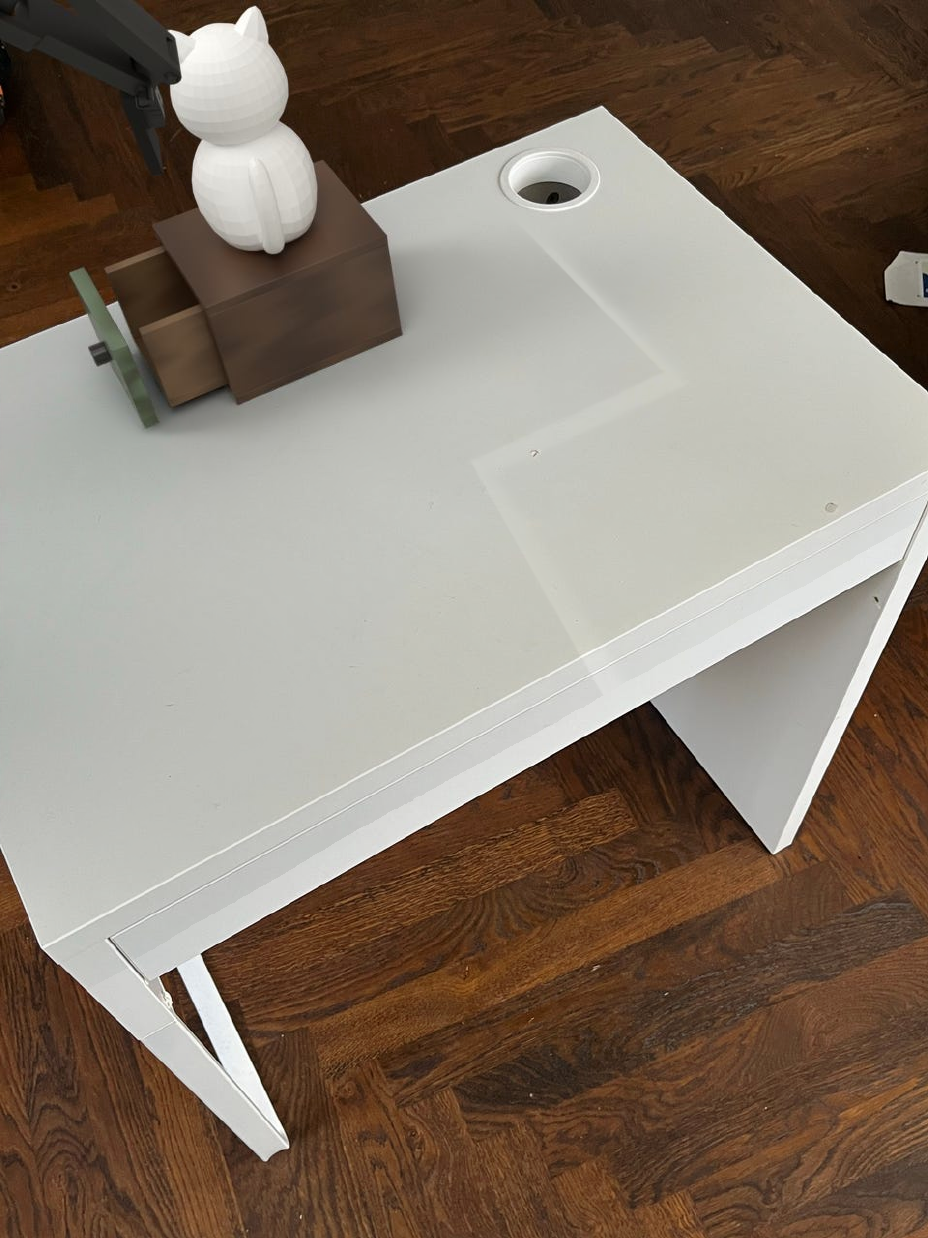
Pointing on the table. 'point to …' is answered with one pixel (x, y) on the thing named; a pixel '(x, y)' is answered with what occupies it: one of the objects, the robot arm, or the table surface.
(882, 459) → the table surface
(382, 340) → the cabinet
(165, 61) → the robot arm
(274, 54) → the cat figurine
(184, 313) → the drawer
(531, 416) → the table surface
